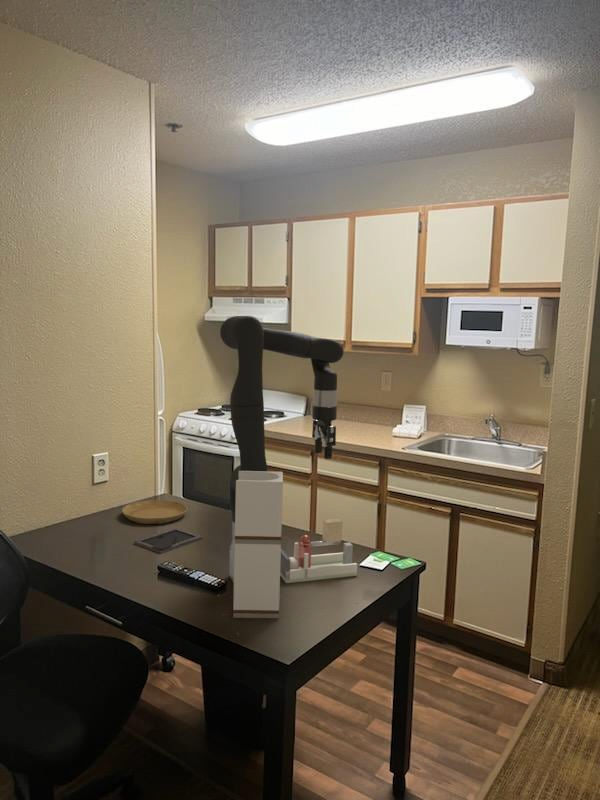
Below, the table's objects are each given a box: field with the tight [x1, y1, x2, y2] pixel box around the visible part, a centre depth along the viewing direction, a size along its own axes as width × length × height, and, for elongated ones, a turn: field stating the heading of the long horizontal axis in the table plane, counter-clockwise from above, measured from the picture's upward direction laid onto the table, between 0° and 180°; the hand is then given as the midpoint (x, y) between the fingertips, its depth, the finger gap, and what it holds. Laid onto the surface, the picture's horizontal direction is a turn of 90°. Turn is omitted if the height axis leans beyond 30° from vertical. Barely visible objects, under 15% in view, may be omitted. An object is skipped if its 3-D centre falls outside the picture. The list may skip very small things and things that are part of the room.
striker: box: [298, 518, 343, 568], centre depth 181 cm, size 12×5×14 cm, turn 109°
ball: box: [290, 558, 300, 570], centre depth 179 cm, size 4×4×4 cm
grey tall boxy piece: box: [232, 470, 284, 619], centre depth 156 cm, size 11×11×35 cm
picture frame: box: [133, 527, 203, 554], centre depth 204 cm, size 13×2×18 cm
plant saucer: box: [121, 499, 188, 525], centre depth 231 cm, size 24×24×3 cm
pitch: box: [280, 541, 358, 584], centre depth 181 cm, size 22×10×8 cm, turn 109°
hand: (322, 455), depth 190 cm, fingers open, 8 cm apart
